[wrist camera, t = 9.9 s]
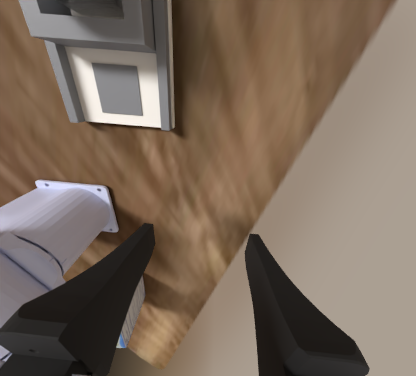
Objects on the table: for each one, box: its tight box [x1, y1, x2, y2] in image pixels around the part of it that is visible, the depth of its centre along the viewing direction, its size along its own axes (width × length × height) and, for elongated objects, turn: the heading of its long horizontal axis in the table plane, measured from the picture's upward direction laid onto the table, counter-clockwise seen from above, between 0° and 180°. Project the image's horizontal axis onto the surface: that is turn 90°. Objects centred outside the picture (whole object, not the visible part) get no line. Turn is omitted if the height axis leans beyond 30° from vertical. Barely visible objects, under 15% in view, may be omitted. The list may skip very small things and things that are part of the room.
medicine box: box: [116, 275, 145, 348], centre depth 29 cm, size 8×4×9 cm, turn 173°
